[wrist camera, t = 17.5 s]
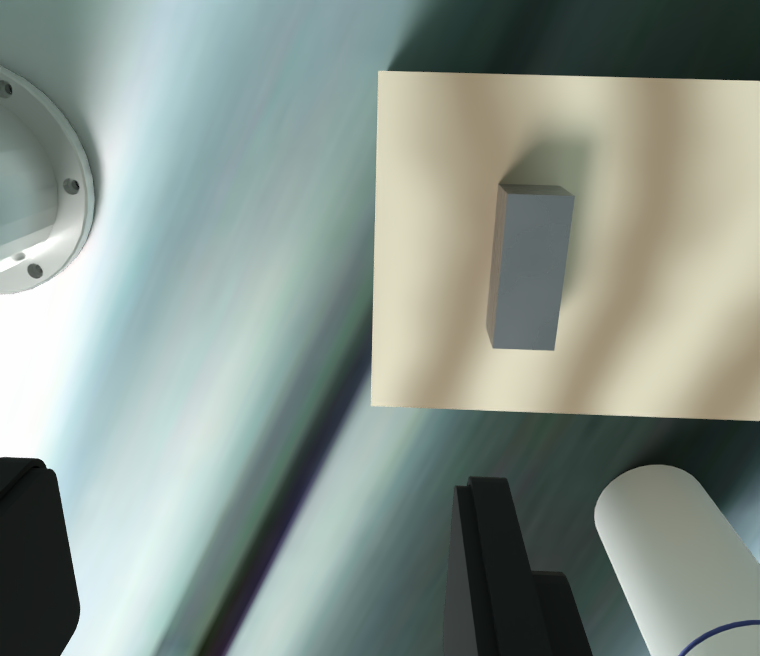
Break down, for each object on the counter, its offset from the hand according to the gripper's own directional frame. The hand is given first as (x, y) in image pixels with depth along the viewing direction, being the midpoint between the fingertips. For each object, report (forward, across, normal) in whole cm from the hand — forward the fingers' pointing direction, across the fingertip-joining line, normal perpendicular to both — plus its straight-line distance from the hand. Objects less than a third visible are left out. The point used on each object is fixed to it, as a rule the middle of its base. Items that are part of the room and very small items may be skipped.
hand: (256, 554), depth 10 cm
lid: (+19, -11, 0) cm, 22 cm away
